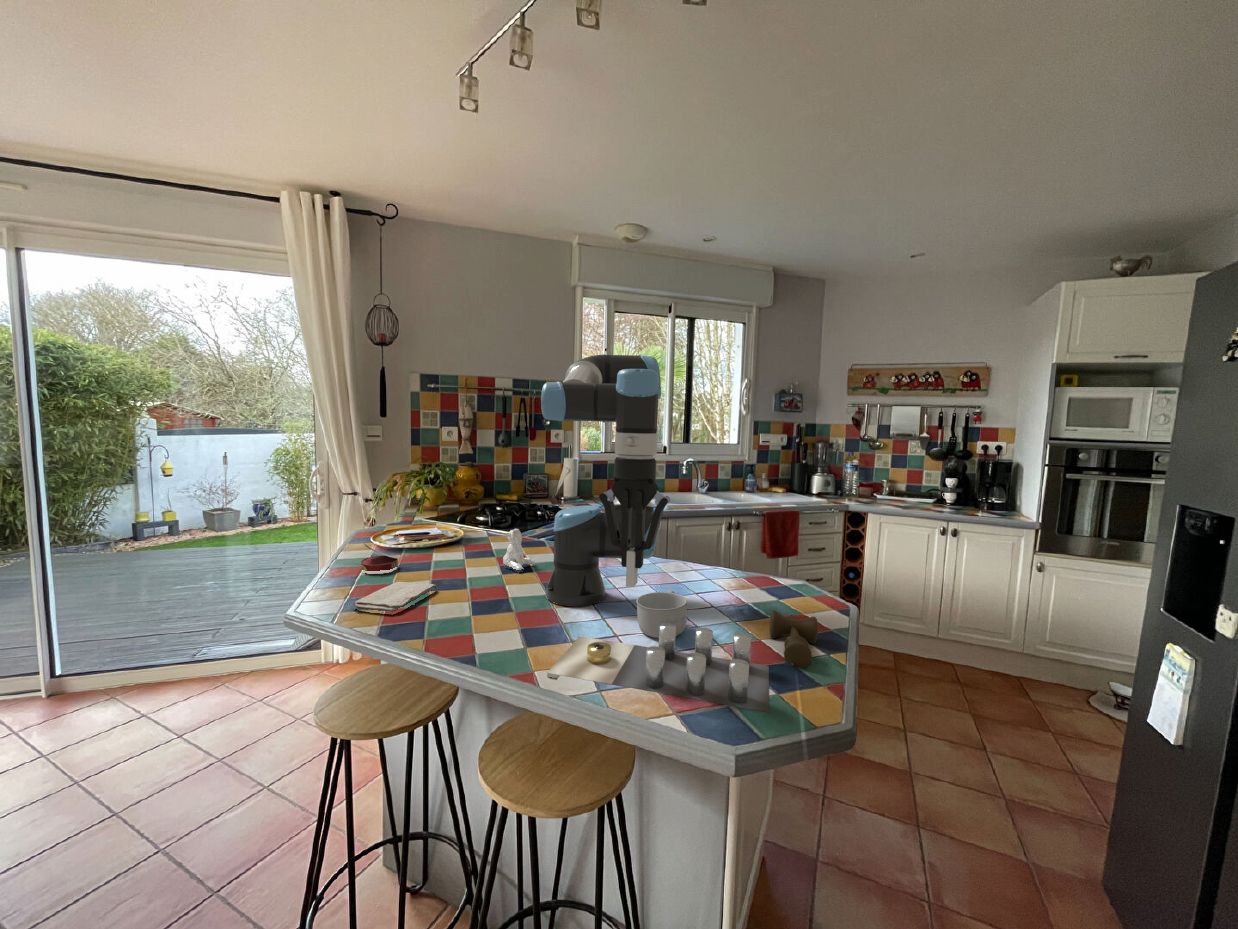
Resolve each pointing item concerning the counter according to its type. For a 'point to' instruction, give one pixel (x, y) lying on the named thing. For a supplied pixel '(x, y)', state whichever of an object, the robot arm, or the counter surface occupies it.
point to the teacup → (661, 612)
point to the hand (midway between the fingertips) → (631, 584)
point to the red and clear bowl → (379, 562)
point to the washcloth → (393, 596)
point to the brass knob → (598, 653)
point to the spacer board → (631, 673)
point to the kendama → (795, 637)
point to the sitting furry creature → (515, 551)
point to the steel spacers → (700, 662)
